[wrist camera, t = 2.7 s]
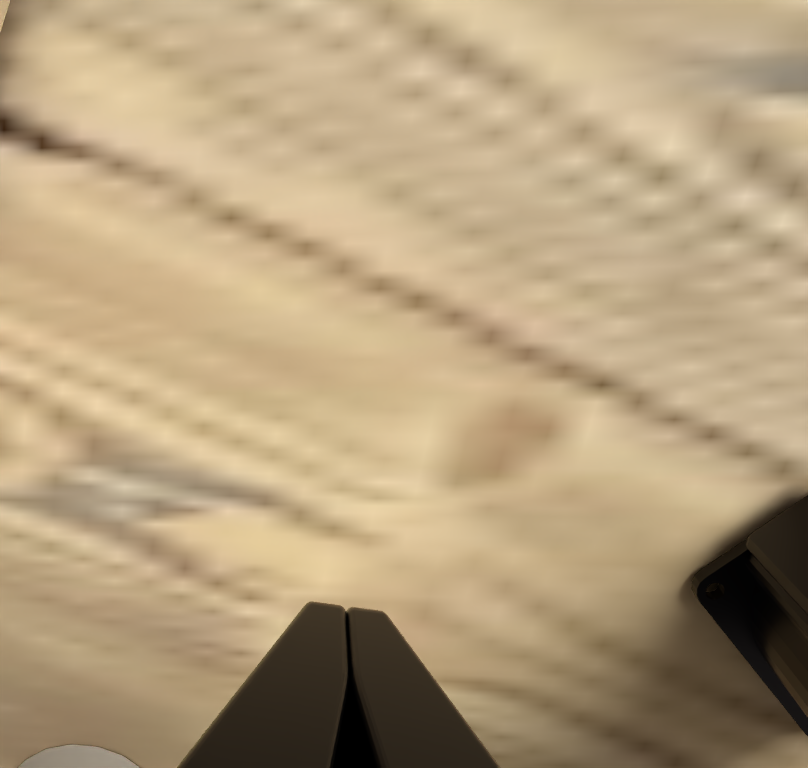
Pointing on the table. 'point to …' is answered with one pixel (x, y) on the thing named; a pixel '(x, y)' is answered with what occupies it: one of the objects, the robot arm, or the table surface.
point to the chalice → (77, 758)
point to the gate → (3, 11)
